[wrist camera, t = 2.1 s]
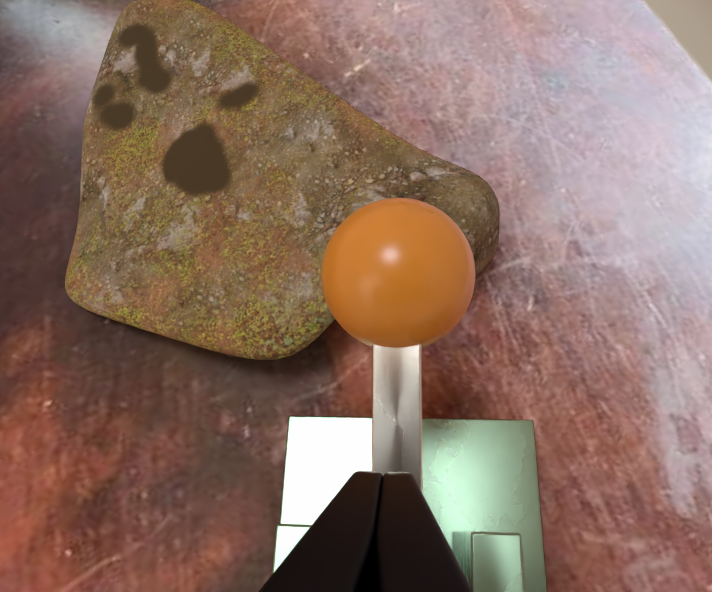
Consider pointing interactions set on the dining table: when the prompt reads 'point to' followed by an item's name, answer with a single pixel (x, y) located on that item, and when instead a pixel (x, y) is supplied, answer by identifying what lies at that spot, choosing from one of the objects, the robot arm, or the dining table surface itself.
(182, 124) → the decorative stone
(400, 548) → the robot arm
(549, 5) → the dining table surface
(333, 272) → the switch lever
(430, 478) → the switch bracket
